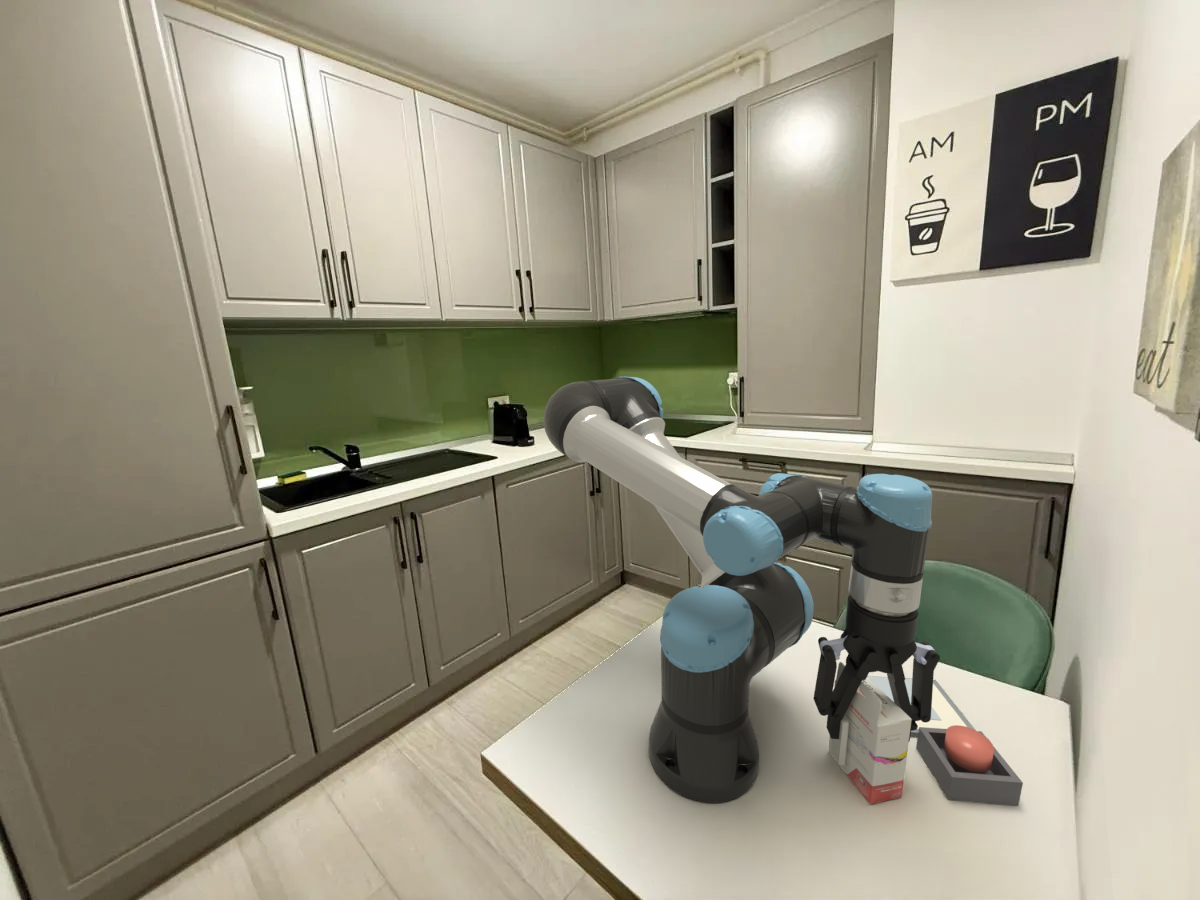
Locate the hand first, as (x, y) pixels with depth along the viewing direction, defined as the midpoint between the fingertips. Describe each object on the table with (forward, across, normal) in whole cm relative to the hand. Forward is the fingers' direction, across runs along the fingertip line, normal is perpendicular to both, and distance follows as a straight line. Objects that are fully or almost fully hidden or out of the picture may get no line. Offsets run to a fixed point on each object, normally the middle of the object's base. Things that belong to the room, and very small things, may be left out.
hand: (864, 758), depth 65 cm
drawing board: (+2, +11, +13) cm, 17 cm away
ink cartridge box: (+3, 0, 0) cm, 3 cm away
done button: (-1, +13, +1) cm, 13 cm away
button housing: (+2, +13, +1) cm, 13 cm away
